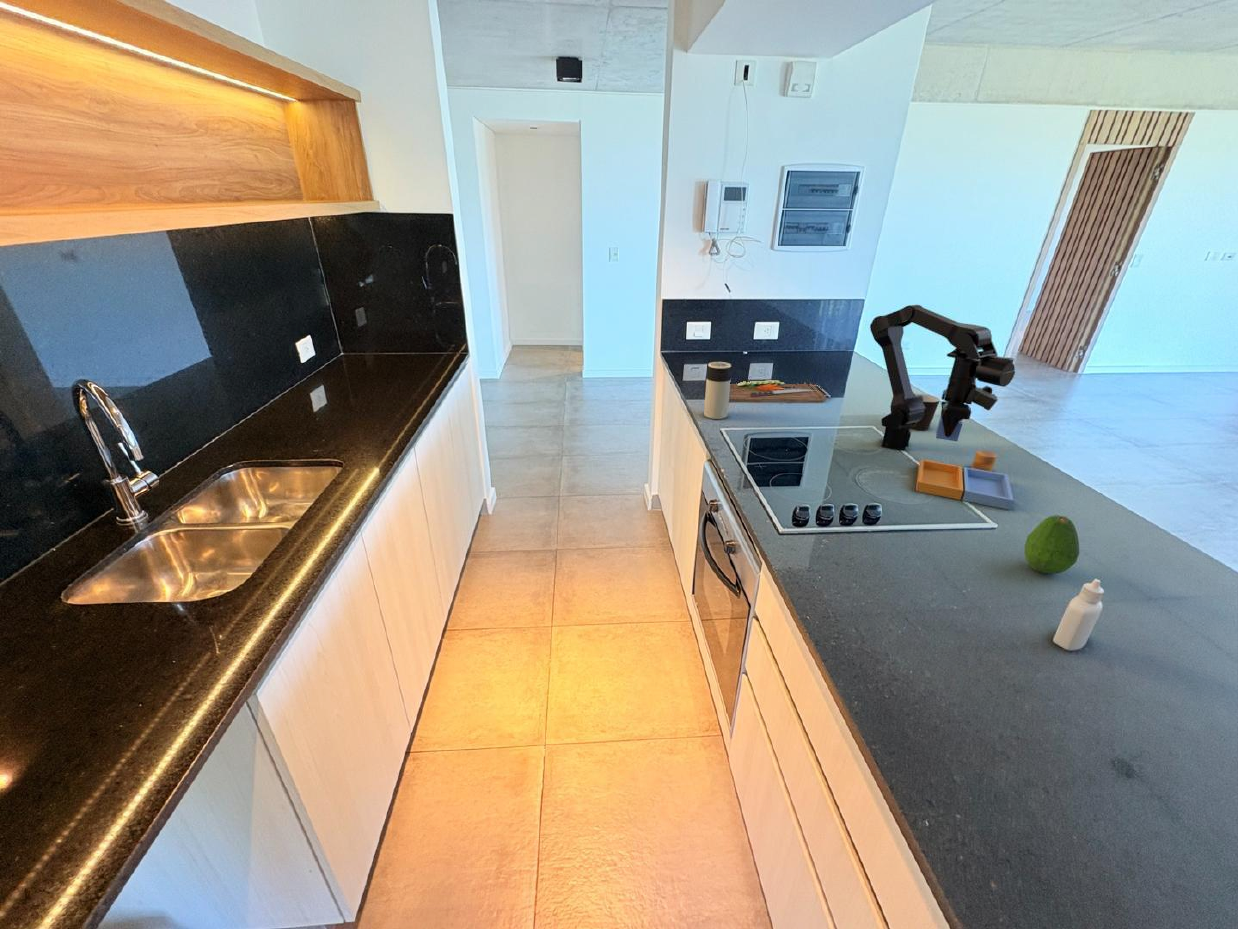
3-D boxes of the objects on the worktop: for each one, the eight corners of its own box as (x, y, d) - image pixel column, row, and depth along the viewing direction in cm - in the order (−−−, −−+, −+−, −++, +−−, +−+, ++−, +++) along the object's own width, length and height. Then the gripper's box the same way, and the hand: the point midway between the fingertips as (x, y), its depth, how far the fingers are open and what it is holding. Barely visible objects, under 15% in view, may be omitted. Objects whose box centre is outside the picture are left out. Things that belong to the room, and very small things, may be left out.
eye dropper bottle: (1041, 631, 86) (1067, 571, 81) (1076, 632, 86) (1104, 572, 81) (1060, 651, 82) (1089, 589, 77) (1097, 652, 82) (1128, 590, 77)
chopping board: (813, 382, 219) (814, 375, 218) (835, 402, 195) (836, 394, 194) (704, 381, 221) (705, 374, 219) (713, 401, 196) (713, 393, 195)
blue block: (935, 438, 142) (940, 420, 140) (936, 432, 146) (940, 415, 144) (957, 441, 140) (962, 423, 138) (957, 435, 144) (962, 418, 142)
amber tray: (915, 490, 131) (918, 481, 130) (918, 467, 144) (920, 459, 143) (960, 500, 127) (963, 490, 126) (959, 475, 139) (962, 466, 138)
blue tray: (962, 500, 127) (965, 490, 126) (961, 475, 139) (963, 466, 138) (1010, 510, 123) (1013, 500, 121) (1004, 483, 135) (1007, 474, 134)
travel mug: (717, 421, 177) (721, 368, 170) (699, 415, 183) (702, 364, 175) (732, 416, 182) (736, 364, 174) (714, 410, 187) (718, 360, 180)
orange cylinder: (971, 472, 141) (976, 455, 139) (971, 465, 145) (976, 449, 143) (992, 475, 139) (997, 458, 137) (990, 469, 143) (996, 452, 141)
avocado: (1008, 564, 103) (1028, 511, 98) (1033, 555, 106) (1054, 503, 101) (1052, 588, 97) (1076, 532, 91) (1078, 577, 99) (1102, 522, 94)
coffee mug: (936, 432, 167) (944, 402, 163) (906, 430, 169) (913, 401, 165) (924, 420, 178) (931, 391, 173) (896, 418, 179) (903, 390, 175)
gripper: (1003, 390, 125) (984, 451, 132) (997, 372, 140) (980, 427, 146) (949, 384, 130) (933, 442, 137) (949, 367, 145) (935, 421, 151)
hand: (947, 433), depth 143 cm, fingers closed on blue block, 5 cm apart
